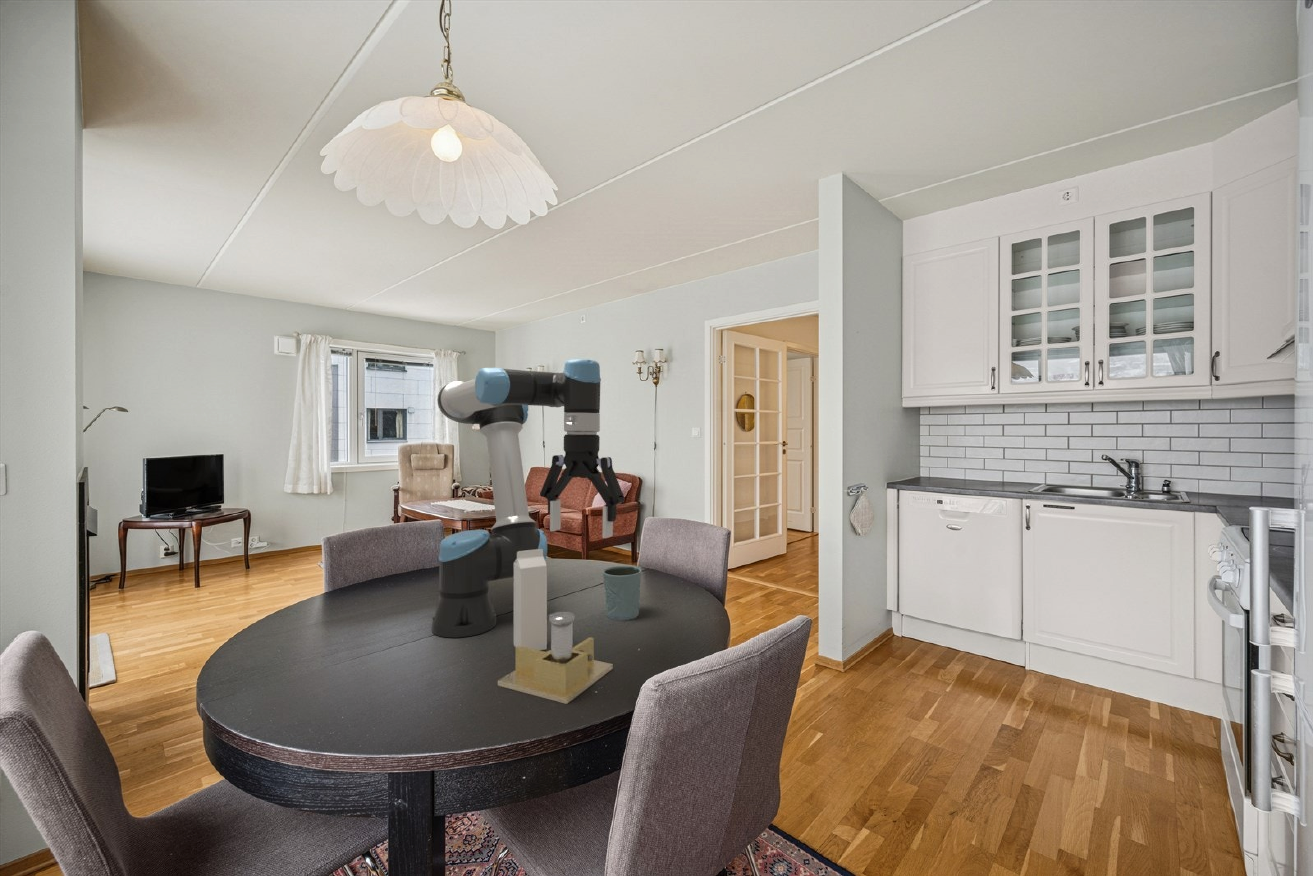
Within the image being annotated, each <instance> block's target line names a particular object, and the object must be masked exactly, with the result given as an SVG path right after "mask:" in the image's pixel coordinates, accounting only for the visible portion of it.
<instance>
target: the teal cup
mask: <svg viewBox="0 0 1313 876" xmlns="http://www.w3.org/2000/svg"><path fill="white" fill-rule="evenodd" d="M602 575H603V577H602V578H603V583H604V584H603V586H604V587H603V588H604V591H605V592H604V597H605V602H606V603H605V605H606V606H605V609H606V616H607V618H608V619H610V620H614V621H631V620H635V619H636V618H637V616H638V617H639V614H640V599H641V596H640V594H641V590H640V589H641V581H642V579H641V578H642V569H641V568H640V567H636V566H631V565H617V566H610V567H607V568H605V569H603V571H602ZM630 619H631V620H630Z"/></svg>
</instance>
